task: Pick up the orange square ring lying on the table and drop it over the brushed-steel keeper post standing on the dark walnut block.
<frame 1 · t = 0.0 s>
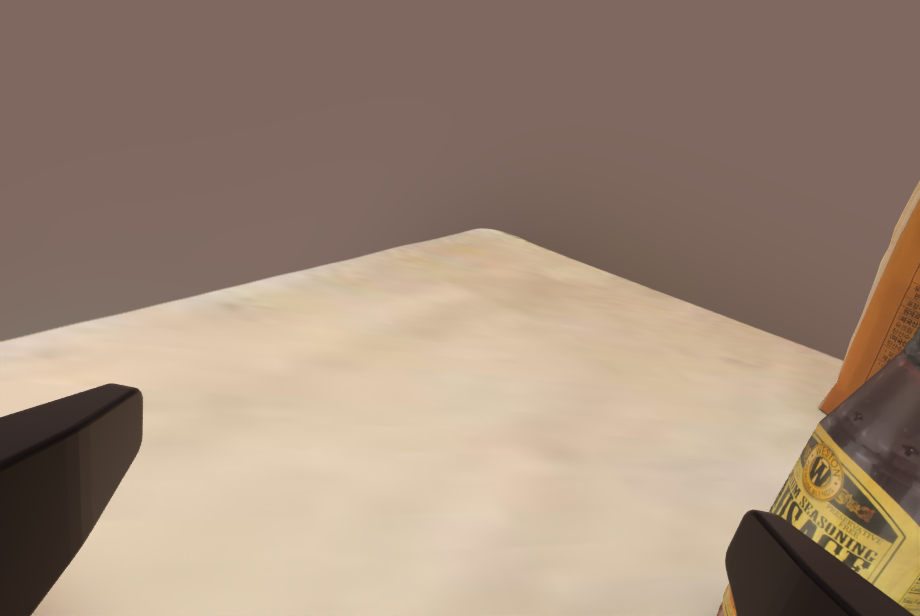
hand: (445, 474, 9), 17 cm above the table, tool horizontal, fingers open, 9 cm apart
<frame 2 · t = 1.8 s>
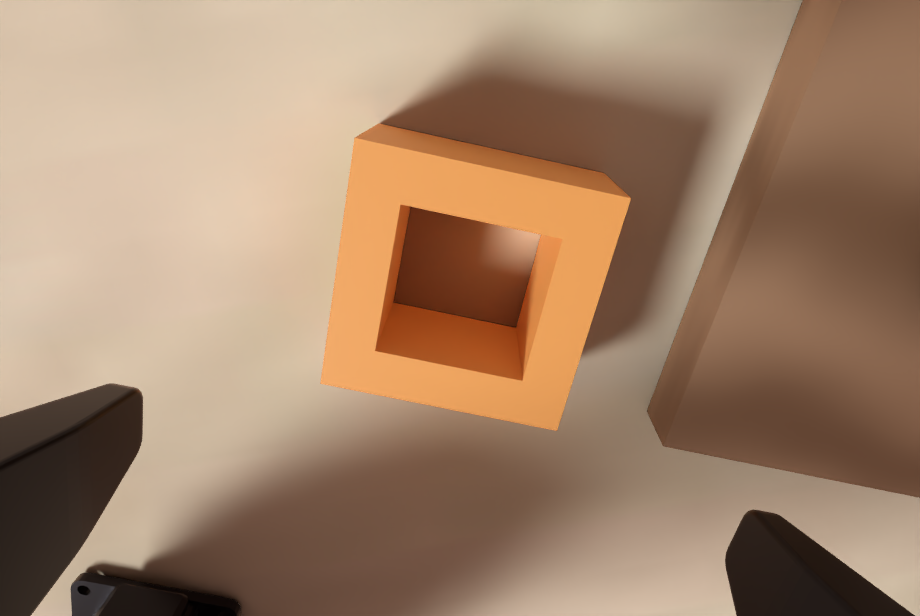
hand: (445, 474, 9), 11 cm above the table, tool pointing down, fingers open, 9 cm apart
orange square ring: (468, 256, 19), on the table
keeper: (917, 252, 18), on the table
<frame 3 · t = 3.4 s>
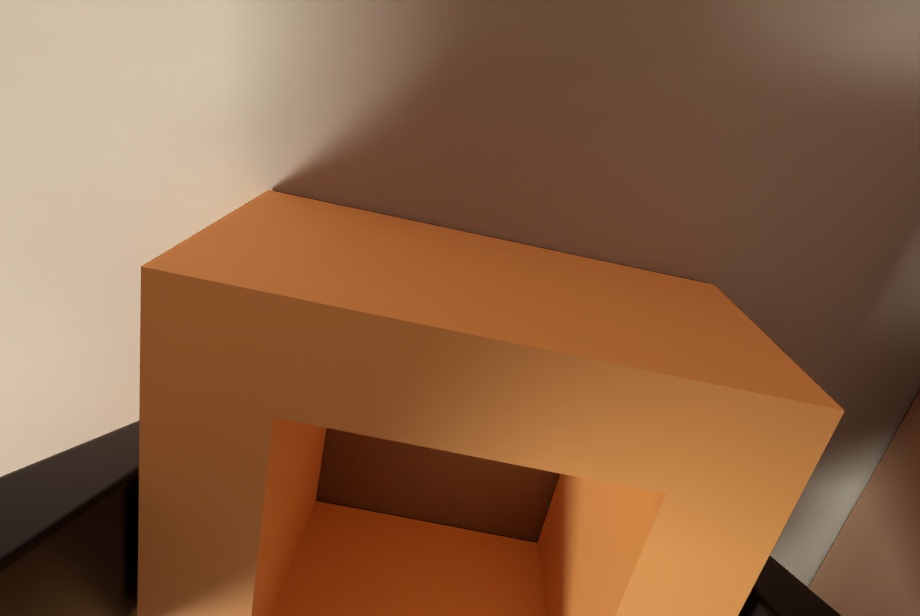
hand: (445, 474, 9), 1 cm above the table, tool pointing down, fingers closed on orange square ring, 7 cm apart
orange square ring: (449, 427, 10), on the table, touching gripper
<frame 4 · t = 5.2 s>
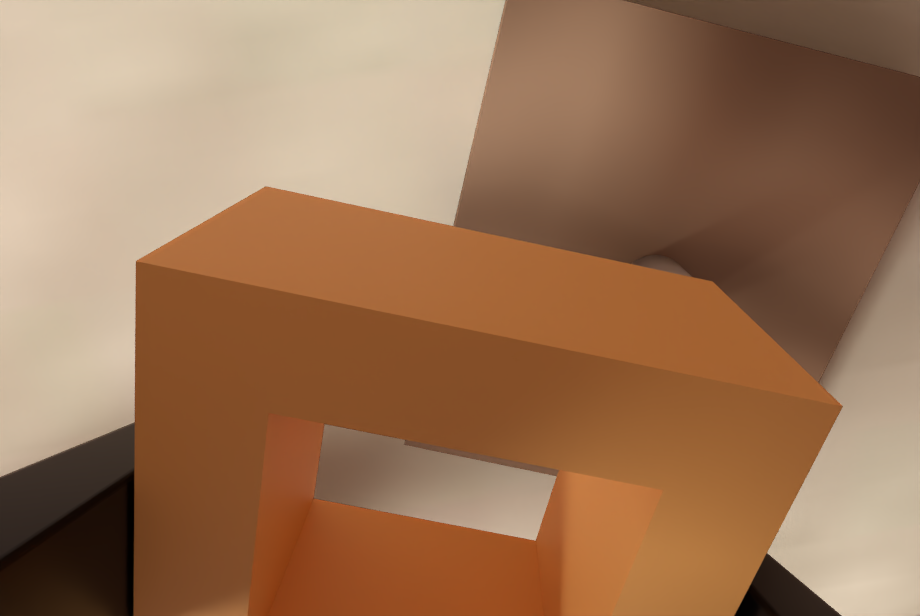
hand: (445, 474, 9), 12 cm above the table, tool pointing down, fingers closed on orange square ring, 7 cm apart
orange square ring: (447, 425, 10), point 10 cm above the table, touching gripper
keeper: (634, 267, 20), on the table
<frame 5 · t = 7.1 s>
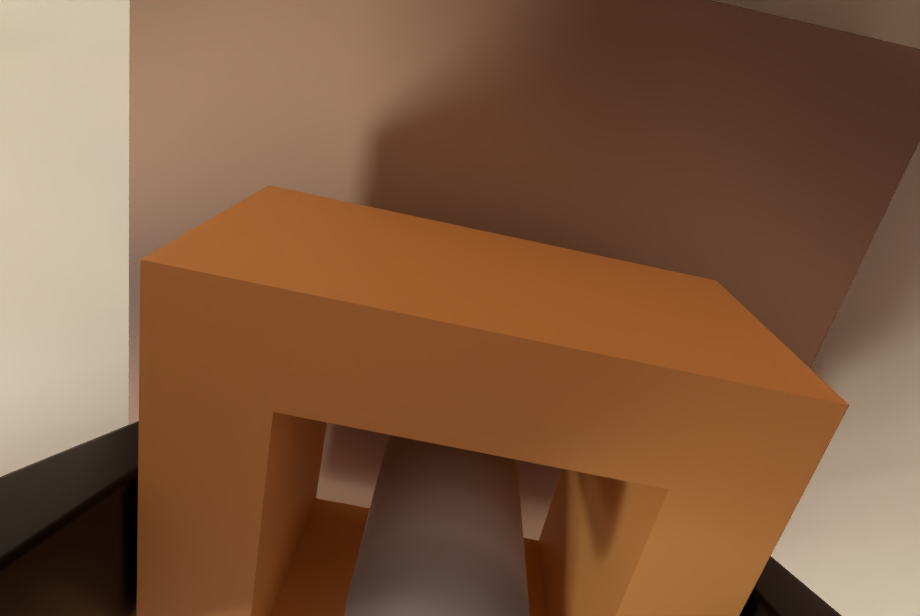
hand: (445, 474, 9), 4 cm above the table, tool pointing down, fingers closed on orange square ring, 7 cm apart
orange square ring: (450, 424, 10), point 3 cm above the table, touching gripper
keeper: (460, 342, 13), on the table
when the fingers open (4 cm above the table, at t = 7.7 s): orange square ring drops 1 cm, resting on keeper.
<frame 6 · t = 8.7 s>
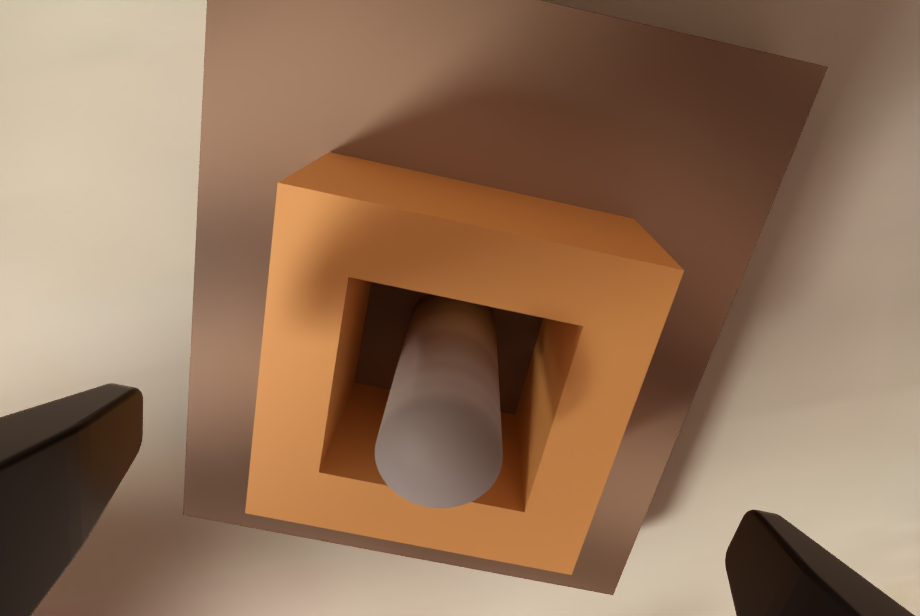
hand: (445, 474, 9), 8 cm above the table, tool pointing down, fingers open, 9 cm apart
orange square ring: (452, 325, 14), point 2 cm above the table, touching keeper
keeper: (456, 296, 16), on the table
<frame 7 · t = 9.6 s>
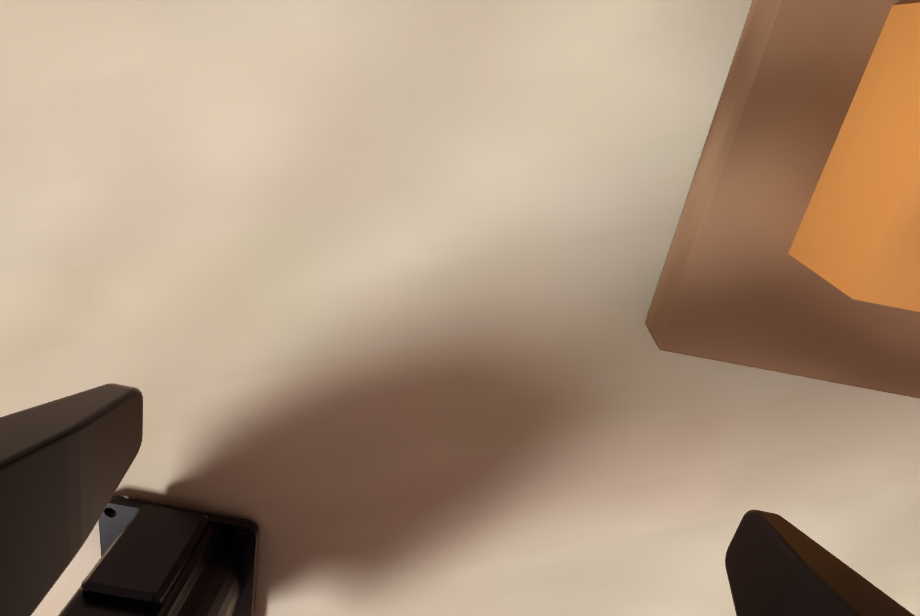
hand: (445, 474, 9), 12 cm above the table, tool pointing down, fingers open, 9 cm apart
keeper: (908, 153, 18), on the table
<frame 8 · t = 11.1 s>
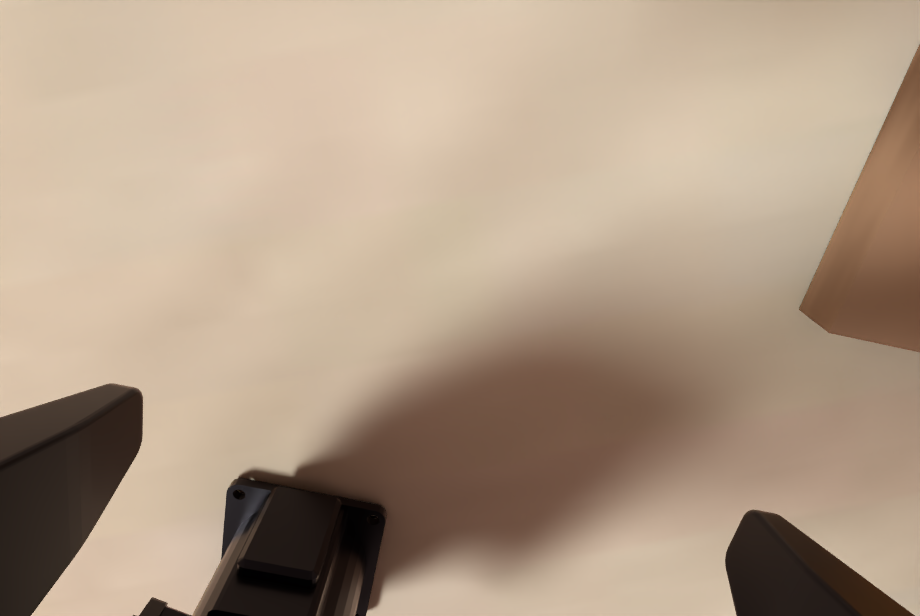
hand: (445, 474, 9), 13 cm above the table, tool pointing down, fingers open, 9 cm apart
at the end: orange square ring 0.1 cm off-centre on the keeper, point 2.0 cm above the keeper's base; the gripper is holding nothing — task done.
